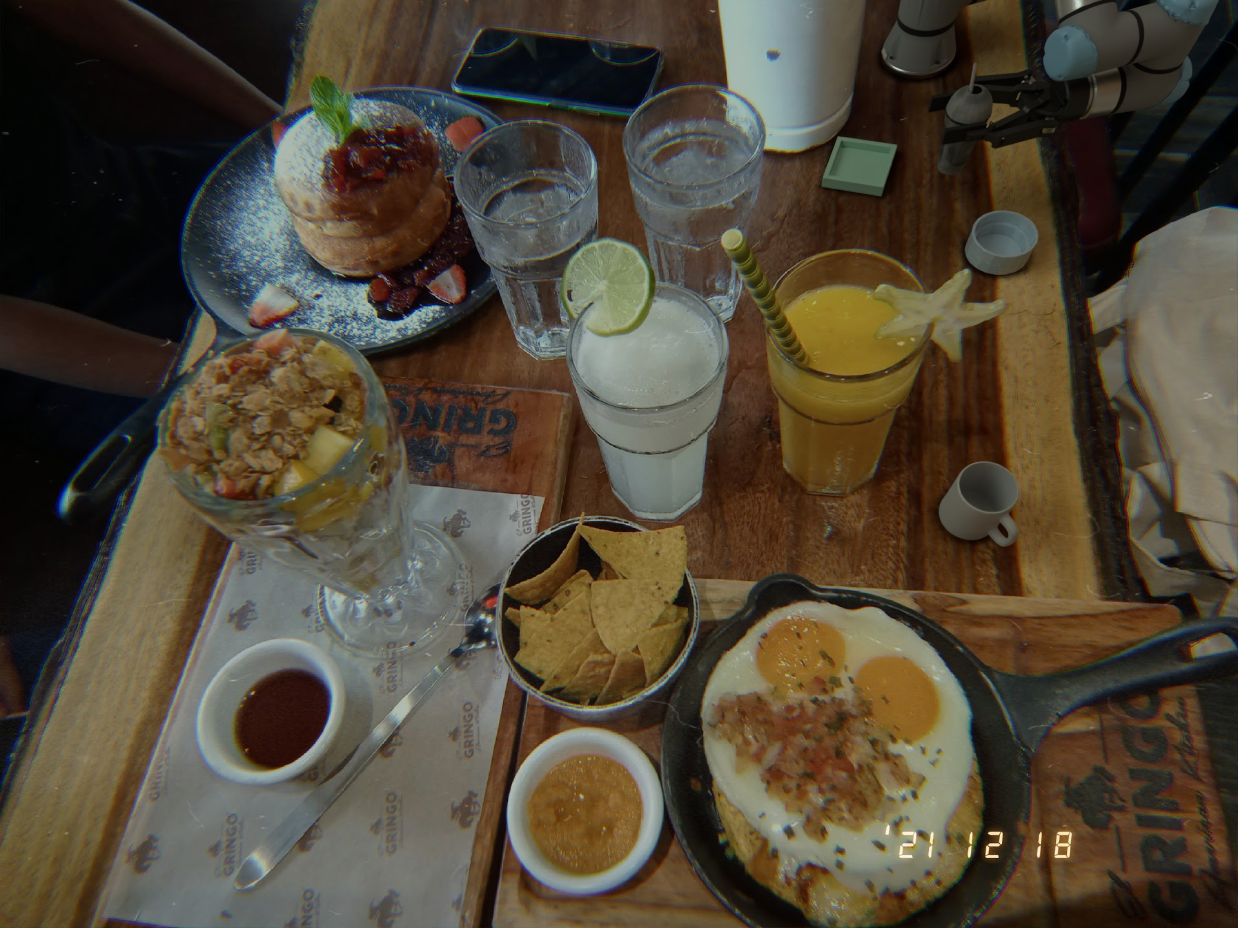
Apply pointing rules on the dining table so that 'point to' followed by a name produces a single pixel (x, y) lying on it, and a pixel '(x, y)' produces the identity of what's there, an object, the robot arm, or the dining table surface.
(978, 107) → the beverage cup
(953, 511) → the mug
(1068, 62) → the robot arm
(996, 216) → the bowl
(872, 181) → the tray
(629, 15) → the dining table surface
